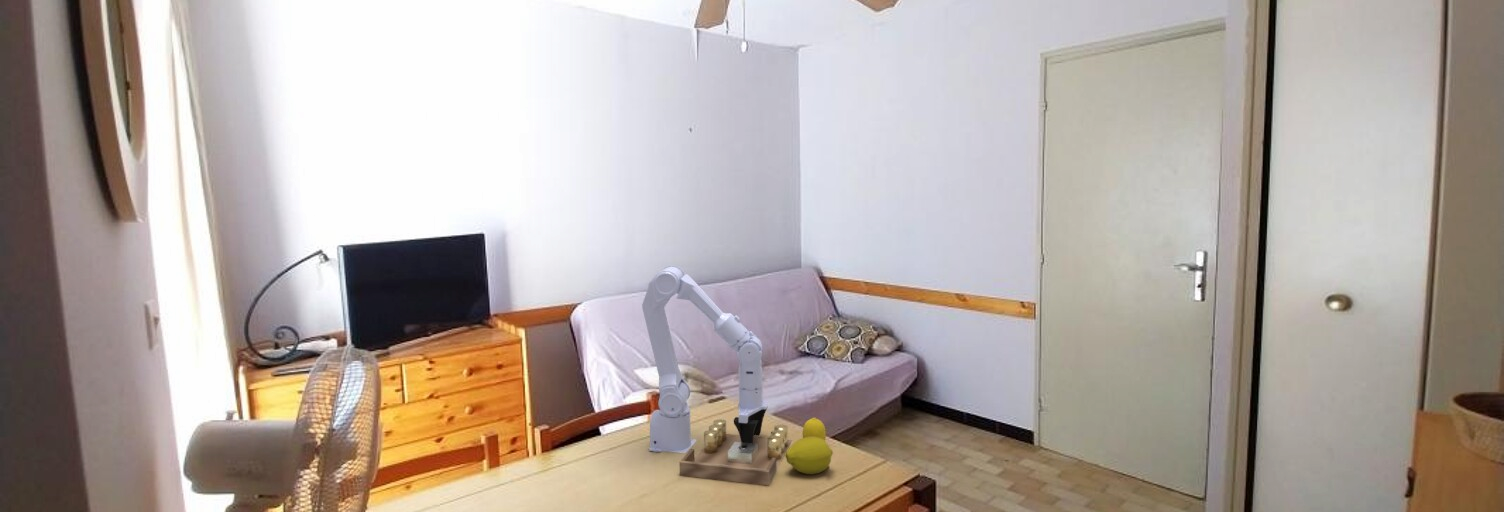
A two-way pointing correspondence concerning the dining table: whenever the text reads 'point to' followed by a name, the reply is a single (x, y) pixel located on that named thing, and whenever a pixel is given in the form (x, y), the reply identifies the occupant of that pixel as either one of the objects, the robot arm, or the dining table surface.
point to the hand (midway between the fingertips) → (751, 440)
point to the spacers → (719, 434)
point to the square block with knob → (743, 452)
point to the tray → (732, 464)
